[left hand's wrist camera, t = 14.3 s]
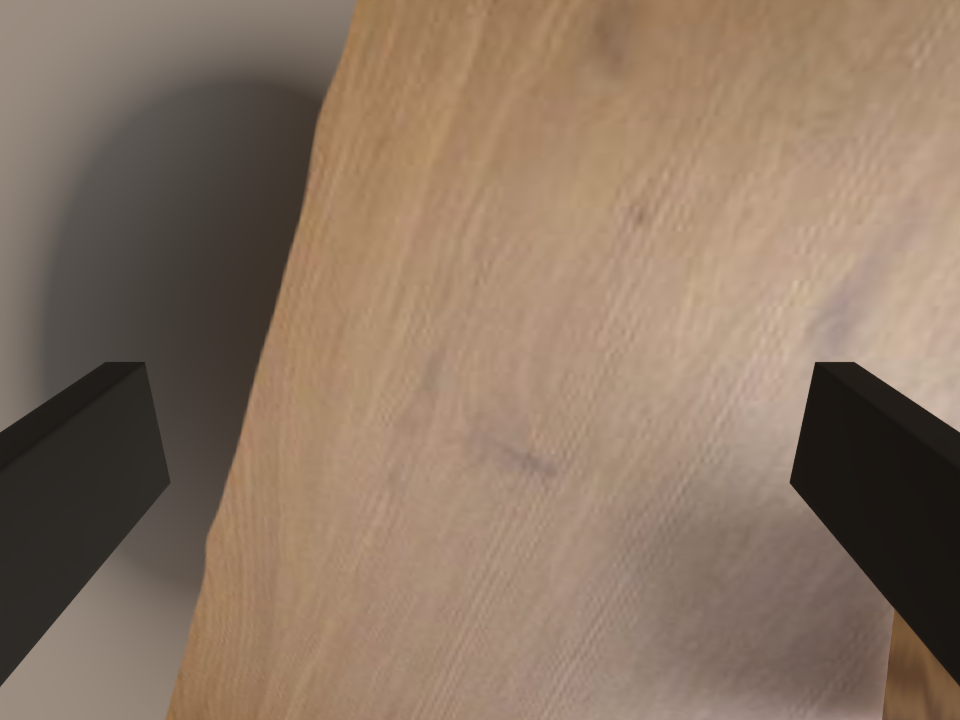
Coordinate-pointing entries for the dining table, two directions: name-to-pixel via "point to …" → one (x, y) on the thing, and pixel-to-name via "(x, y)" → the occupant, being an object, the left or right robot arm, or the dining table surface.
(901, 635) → the bar
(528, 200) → the dining table surface
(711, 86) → the dining table surface
